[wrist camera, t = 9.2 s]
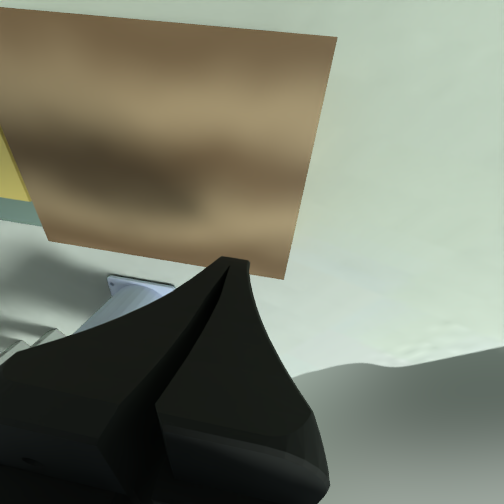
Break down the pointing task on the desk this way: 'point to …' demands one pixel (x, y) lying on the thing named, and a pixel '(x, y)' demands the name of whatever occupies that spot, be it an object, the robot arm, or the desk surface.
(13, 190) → the yellow rectangular block
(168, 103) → the brown flat block
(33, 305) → the desk surface
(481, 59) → the desk surface
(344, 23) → the desk surface
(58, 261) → the desk surface
